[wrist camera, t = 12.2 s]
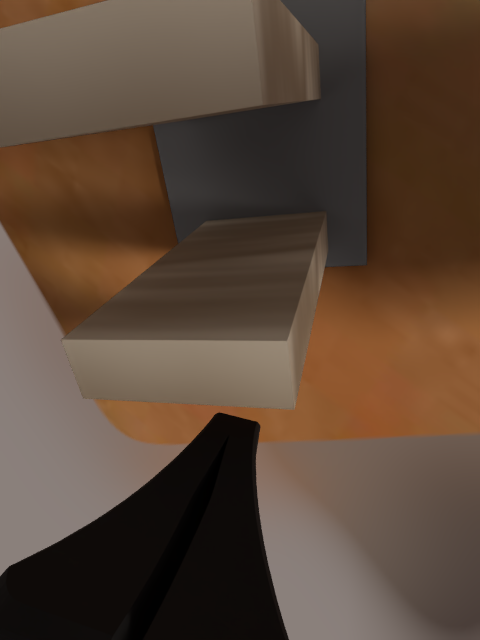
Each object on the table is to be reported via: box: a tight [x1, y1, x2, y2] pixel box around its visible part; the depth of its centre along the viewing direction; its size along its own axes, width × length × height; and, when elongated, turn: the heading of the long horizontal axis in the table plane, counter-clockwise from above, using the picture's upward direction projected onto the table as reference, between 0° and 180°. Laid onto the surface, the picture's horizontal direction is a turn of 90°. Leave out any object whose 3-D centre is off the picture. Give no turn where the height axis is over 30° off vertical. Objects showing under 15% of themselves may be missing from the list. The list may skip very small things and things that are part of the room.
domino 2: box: [61, 211, 328, 410], centre depth 13 cm, size 2×5×10 cm, turn 99°
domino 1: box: [0, 0, 321, 147], centre depth 11 cm, size 2×5×10 cm, turn 99°
